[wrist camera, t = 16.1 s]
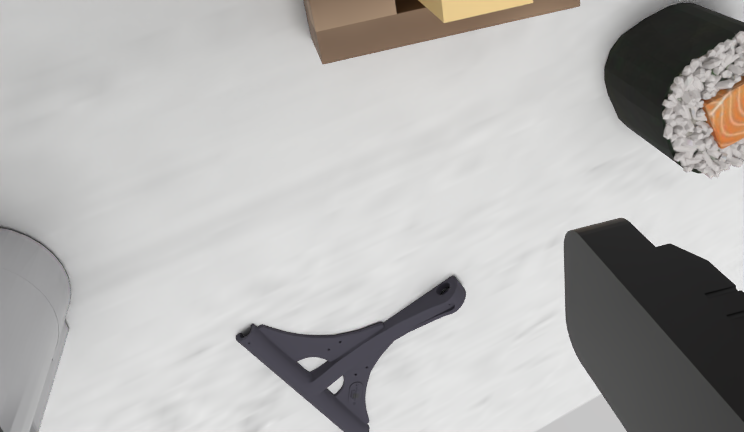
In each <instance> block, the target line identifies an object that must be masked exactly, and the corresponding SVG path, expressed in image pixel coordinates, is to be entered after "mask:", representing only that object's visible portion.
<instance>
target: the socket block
mask: <svg viewBox="0 0 744 432" xmlns="http://www.w3.org/2000/svg"><path fill="white" fill-rule="evenodd" d="M303 1H304V6H305V10H306V15H307V20H308V24H309V29H310V34H311V38H312V41H313V43H314V45H315V48H316V50H317V52H318V55H319V57H320V59H321V61H322V64H327V63H331V62H336V61H340V60H344V59H349V58H353V57H358V56H362V55H366V54H371V53H375V52H380V51H384V50H389V49H393V48H397V47H402V46H406V45H411V44H415V43H419V42H424V41H428V40H433V39H437V38H442V37H446V36H450V35H455V34H459V33H464V32H468V31H472V30H477V29H481V28H486V27H490V26H494V25H499V24H503V23H508V22H512V21H517V20H521V19H525V18H530V17H534V16H539V15H543V14H547V13H552V12H556V11H561V10H565V9H570V8H574V7H578V6H580V0H533V3H530V4H526V5H522V6H517V7H513V8H508V9H504V10H500V11H495V12H491V13H486V14H482V15H478V16H473V17H469V18H465V19H460V20H456V21H451V22H447V23H443V22H442V21H441V20H440V19H439V18H438V17H437V16H435V15H434V14H433V13H432V12H431V11H430V10H429V9H427V8H426V7H425V6H424V5H423V4H422V3H421V2H419V1H418V0H303Z"/></svg>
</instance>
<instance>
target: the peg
mask: <svg viewBox="0 0 744 432" xmlns="http://www.w3.org/2000/svg"><path fill="white" fill-rule="evenodd" d="M418 1H419V2H421V3H422V4H423V5H424V6H425V7H426V8H427V9H429V10H430V11H431V12H432V13H433V14H434V15H435V16H437V17H438V18H439V19H440V20H441V21H442V22H443V23H447V22H451V21H456V20H460V19H465V18H469V17H473V16H478V15H482V14H486V13H491V12H495V11H500V10H504V9H508V8H513V7H517V6H522V5H526V4H530V3H533V0H418Z"/></svg>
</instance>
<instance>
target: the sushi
mask: <svg viewBox="0 0 744 432" xmlns="http://www.w3.org/2000/svg"><path fill="white" fill-rule="evenodd" d="M605 83H606V87H607V91H608V95H609V97H610V100H611V102H612V104H613V106H614V109H615V111H616V113H617V116H618V118H619V119H620V120H621V121H622V122H623V123H624V124H625V125H626V126H627V127H628V128H630V129H631V130H632V131H634V132H635V133H637V134H638V135H639V136H641V137H642V138H643V139H645V140H646V141H647V142H649V143H650V144H651V145H653V146H654V147H656V148H657V149H658V150H660V151H661V152H662V153H664V154H665V155H666V156H668V157H669V158H671V159H672V160H673V161H675V162H676V163H677V164H679V165H680V166H681V167H683V169H684V171H685V172H690V171H693V172H696V173H704V174H705V175H707V176H708V177H709V178H712V177H713V176H715V177H719V174H720V171H723V170H724V171H726V170H728V169H730V166H731V164H732V166H735V167H740V166H741V165H742V164H743V161H744V22H741V21H738V20H736V19H733V18H730V17H728V16H725V15H722V14H720V13H717V12H714V11H712V10H709V9H707V8H704V7H701V6H699V5H696V4H691V3H679V4H676V5H672V6H669V7H667V8H665V9H663V10H661V11H659V12H657V13H655V14H653V15H652V16H650V17H648V18H646V19H644V20H643V21H642V22H640V23H639V24H637V25H636V26H635V27H633V28H632V29H630V30H629V31H628V32H626V33H625V34H624V35H622V36H621V37H620V38H619V40H618V41H617V43H616V44H615V45H614V47H613V48H612V49H611V51H610V54H609V57H608V60H607V63H606V66H605ZM740 159H741V160H740ZM742 160H743V161H742Z"/></svg>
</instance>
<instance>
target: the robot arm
mask: <svg viewBox="0 0 744 432" xmlns="http://www.w3.org/2000/svg"><path fill="white" fill-rule="evenodd" d="M564 272H565V311H566V324H567V329H568V333H569V337H570V340H571V343H572V346H573V348H574V351H575V353H576V355H577V357H578V359H579V360H580V362H581V364H582V365H583V367H584V368H585V370H586V371H587V373H588V374H589V376H590V377H591V379H592V380H593V382H594V383H595V384H596V386H597V387H598V389H599V390H600V392H601V393H602V395H603V396H604V398H605V399H606V401H607V402H608V404H609V405H610V407H611V408H612V410H613V411H614V413H615V414H616V416H617V417H618V419H619V420H620V421H621V423H622V425H623V426H624V428H625V429H626V431H627V432H744V292H742V291H741V290H740V291H737V289H736V285H735V284H734V283H732V282H731V281H730V280H729V279H728V278H727V277H726V276H725V275H723V274H722V273H721V272H720V271H719V270H718V269H717V268H716V267H714V266H713V265H712V264H711V263H710V262H709V261H707V260H705V259H703V258H701V257H699V256H696V255H694V254H692V253H690V252H688V251H685V250H683V249H681V248H679V247H677V246H674V245H672V244H666V245H662V246H658V247H655V246H654V245H653V244H652V243H651V242H650V241H649V240H648V239H647V238H646V237H645V236H644V235H642V234H641V233H640V232H639V231H638V230H637V229H636V228H635V227H634V226H633V225H632V224H631V223H630V222H629V221H628V220H626V219H624V218H618V219H614V220H610V221H606V222H602V223H598V224H594V225H590V226H586V227H582V228H578V229H574V230H570V231H568V232H567V233H566V235H565V239H564ZM70 296H71V289H70V283H69V278H68V276H67V274H66V272H65V270H64V268H63V266H62V265H61V263H60V262H59V261H58V260H57V258H56V257H55V256H54V255H53V254H52V253H51V252H50V251H49V250H48V249H46V248H45V247H44V246H43V245H42V244H40V243H38V242H36V241H35V240H33V239H31V238H29V237H28V236H25V235H23V234H20V233H17V232H14V231H12V230H8V229H3V228H0V432H39V429H40V425H41V422H42V419H43V415H44V412H45V409H46V405H47V402H48V399H49V395H50V392H51V389H52V385H53V382H54V378H55V375H56V372H57V368H58V365H59V362H60V358H61V355H62V352H63V348H64V345H65V342H66V338H67V335H68V332H69V329H68V327H67V325H66V323H65V317H66V314H67V311H68V307H69V304H70Z"/></svg>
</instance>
